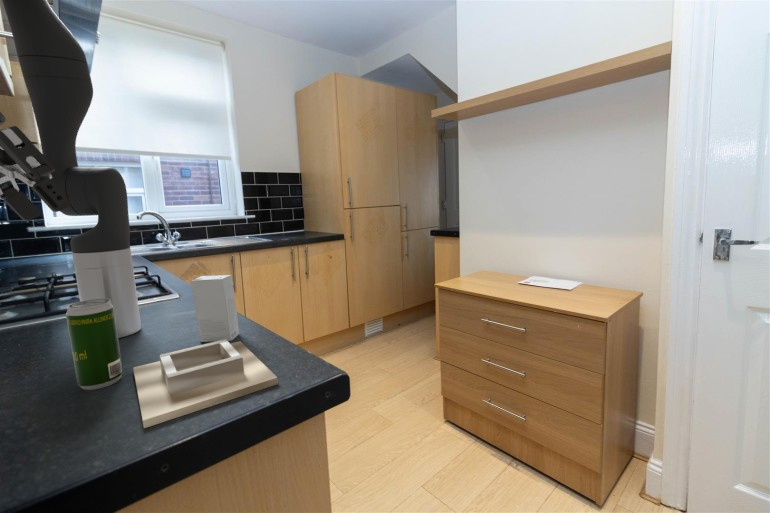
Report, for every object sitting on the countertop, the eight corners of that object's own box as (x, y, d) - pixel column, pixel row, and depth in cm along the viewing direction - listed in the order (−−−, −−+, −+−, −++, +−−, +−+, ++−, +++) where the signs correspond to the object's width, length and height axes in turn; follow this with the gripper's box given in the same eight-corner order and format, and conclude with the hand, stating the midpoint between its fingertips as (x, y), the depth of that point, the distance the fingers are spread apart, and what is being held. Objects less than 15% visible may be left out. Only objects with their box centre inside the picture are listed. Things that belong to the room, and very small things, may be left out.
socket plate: (134, 373, 57) (131, 352, 56) (240, 346, 66) (238, 327, 66) (143, 428, 43) (139, 400, 42) (277, 384, 52) (276, 360, 52)
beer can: (131, 372, 58) (120, 297, 56) (109, 389, 52) (96, 307, 50) (94, 374, 57) (82, 299, 55) (68, 392, 52) (54, 309, 50)
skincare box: (240, 333, 73) (234, 273, 71) (230, 342, 69) (224, 278, 67) (209, 334, 73) (202, 274, 71) (197, 343, 69) (190, 279, 67)
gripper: (-3, 67, 42) (100, 192, 51) (-48, 102, 49) (50, 208, 57) (-84, 84, 37) (46, 221, 45) (-123, 121, 43) (-3, 235, 51)
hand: (48, 213), depth 51 cm, fingers open, 8 cm apart
